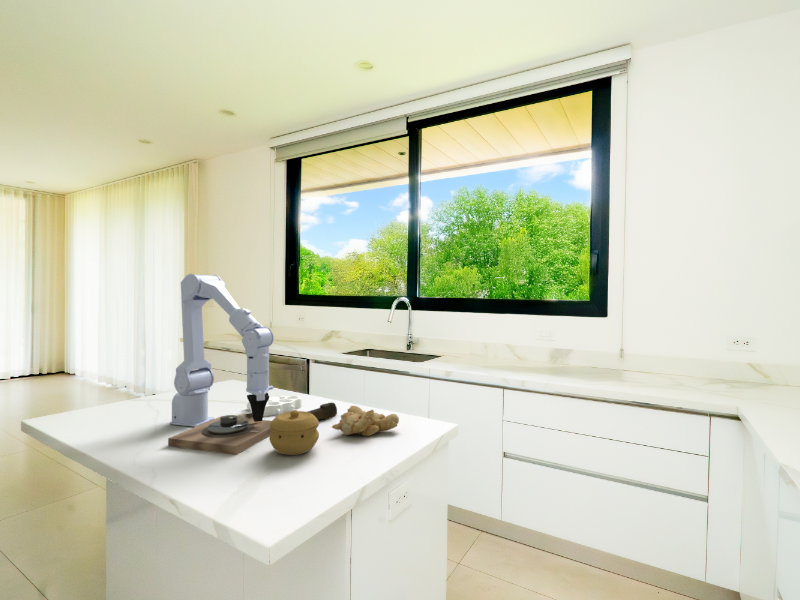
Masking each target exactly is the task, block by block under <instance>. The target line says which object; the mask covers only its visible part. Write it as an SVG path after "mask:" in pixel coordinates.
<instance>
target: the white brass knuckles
mask: <svg viewBox="0 0 800 600" xmlns="http://www.w3.org/2000/svg"><path fill="white" fill-rule="evenodd" d="M302 400H303V398H302V397H301V396H299V395H289V396H287V395H286V396H284V395H276V396H272V397H269V400H268V401H267V404H266V406H265V410H264V415H263V418H264V417H267V416H276V415H277V416H278V415H280V414H282V413H286V412H291V411H293V410H297V409H301V408H302V407H303V406H302V405H303V404H302V403H303V401H302ZM246 408H247V409H248V410H249V409H250V410H249V411H250V412H252V410H251V405H250V402H249V401H248V402H247V403H246Z"/></svg>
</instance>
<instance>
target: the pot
mask: <svg viewBox="0 0 800 600" xmlns="http://www.w3.org/2000/svg"><path fill="white" fill-rule="evenodd" d="M271 421H272V422H271V424H270V430H271V431H272V434H271V435H270V436H269V439H268V440H269V442H270V445H271V447H272V448H273V449H274V450H275V451H276V452H278V454H281V455H287V456H294V455H295V456H296V455H301V454H304V453H307V452H309V451H311V449H313V448H314V446H315V445H316V443H317V442H318V440H319V438H320V433H319V431H318V427H319V426H320V425H319V424H320V422H319V420H318V419H317V418H316V417H315V416H314V415H313V414H311V413H309V412H307V411H303V410H302V411H301V410H297V409H294V410H293V411H290V412H285V413H282V414H278V415H277V416H275V417H274V418H273V419H272V420H271Z"/></svg>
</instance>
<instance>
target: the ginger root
mask: <svg viewBox="0 0 800 600" xmlns="http://www.w3.org/2000/svg"><path fill="white" fill-rule="evenodd" d="M399 419H400V417H399V416H398V414H396V413H391V414H388V415H387V416H385V414H383V413H378V412H375V410H374V409H370V410H367V411H365V410H363V409H362V408H361V407H360V406H357V405H351V406H349V407H348V408H347V412H344V413H343V414H341V415H340V420H339V422H338V423H335V424H332V426H331V428H332V429H333V430H337V431H338V430H339V431H340V432H342V434H344V435H345V436H349V435H353V434H357V435H362V436H364V437H370V436H372V435H374V434H376V433H378V432H384V431H385V432H387V431H390V430H392V429H394V428H396V427H398V424H399V422H400V421H399Z"/></svg>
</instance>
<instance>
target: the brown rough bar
mask: <svg viewBox="0 0 800 600" xmlns="http://www.w3.org/2000/svg"><path fill="white" fill-rule="evenodd" d="M306 412H309V413H311V414H313V415H314V416H315V417H316V418H317V419H318V421H319V420H323V421H325V420H326V419H327V420H329V418H330V419H331V418H333V417H335V416H337V415H338V408H337V404H336V403H334V402H327V403H323V404H321V405H319V407H318V408H314V409H312V410H308V411H306Z"/></svg>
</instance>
